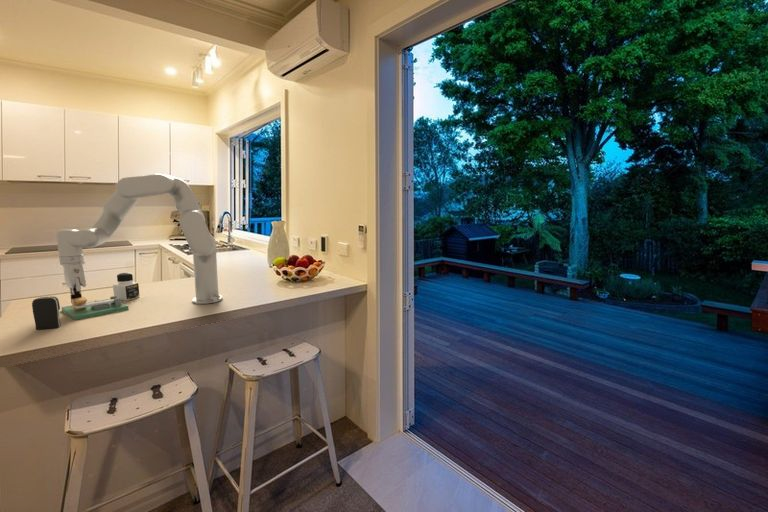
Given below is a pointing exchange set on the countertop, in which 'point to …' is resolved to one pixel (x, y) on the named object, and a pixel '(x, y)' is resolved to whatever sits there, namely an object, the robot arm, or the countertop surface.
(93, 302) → the grey flat bar
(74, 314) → the board
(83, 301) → the tan wooden block
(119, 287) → the medicine bottle
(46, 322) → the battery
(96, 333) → the countertop surface
